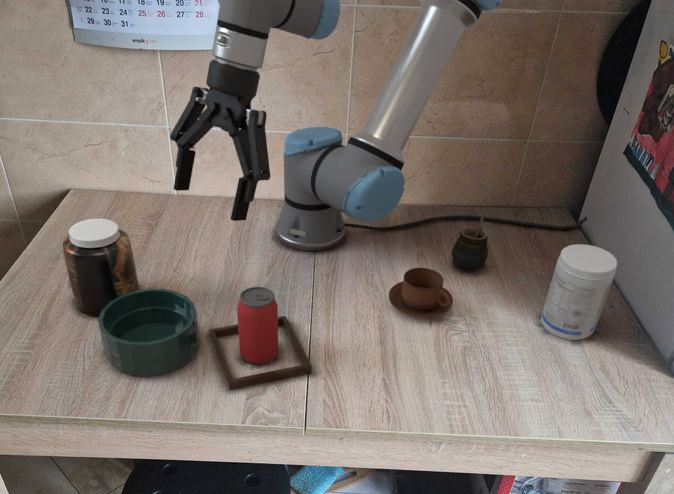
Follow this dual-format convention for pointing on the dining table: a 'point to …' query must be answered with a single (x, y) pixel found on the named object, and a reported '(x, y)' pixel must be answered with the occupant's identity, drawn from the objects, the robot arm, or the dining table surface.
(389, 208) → the robot arm
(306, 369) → the brown square frame
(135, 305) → the green bowl
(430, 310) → the cup and saucer
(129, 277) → the jar
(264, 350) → the beer can
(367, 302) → the dining table surface
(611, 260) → the supplement tub
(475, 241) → the mate gourd
